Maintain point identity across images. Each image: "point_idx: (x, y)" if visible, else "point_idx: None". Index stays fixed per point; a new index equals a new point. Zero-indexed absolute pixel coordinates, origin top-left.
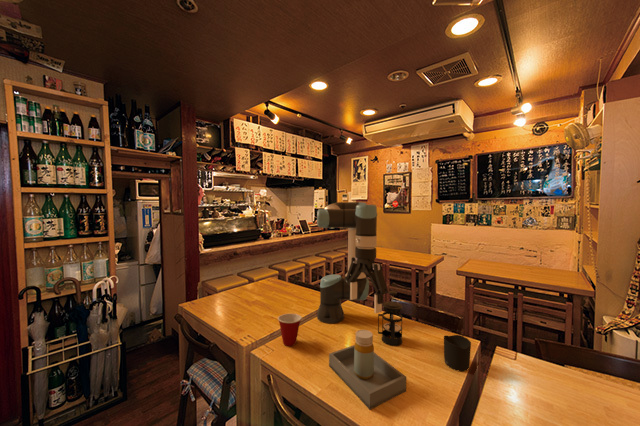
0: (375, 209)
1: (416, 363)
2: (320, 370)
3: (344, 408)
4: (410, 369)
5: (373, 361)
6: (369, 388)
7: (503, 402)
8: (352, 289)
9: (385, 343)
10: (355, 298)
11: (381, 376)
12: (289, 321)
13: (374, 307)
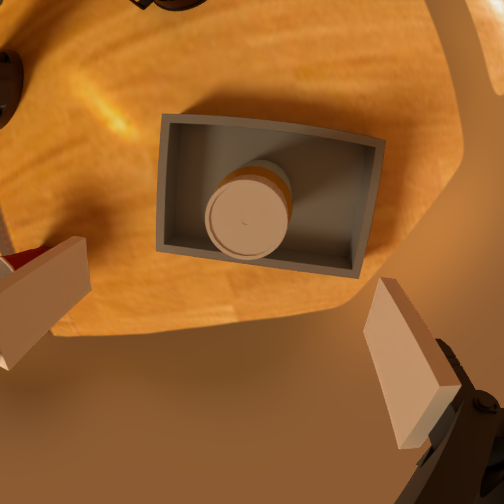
0: None
1: (315, 12)
2: (173, 267)
3: (310, 302)
4: (324, 48)
5: (287, 181)
6: (313, 221)
7: (496, 25)
8: (42, 324)
9: (183, 10)
10: (84, 254)
11: (301, 154)
12: (2, 268)
13: (373, 356)
